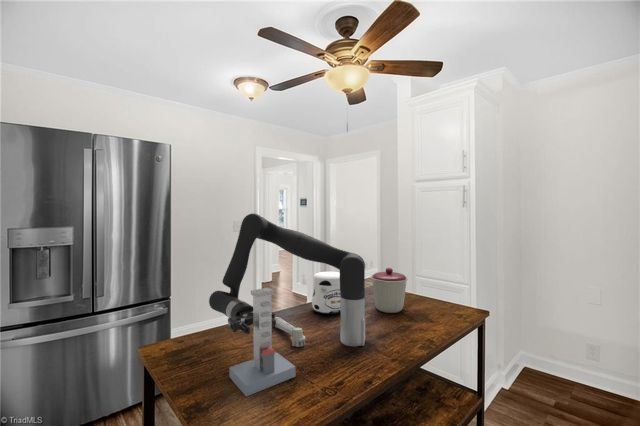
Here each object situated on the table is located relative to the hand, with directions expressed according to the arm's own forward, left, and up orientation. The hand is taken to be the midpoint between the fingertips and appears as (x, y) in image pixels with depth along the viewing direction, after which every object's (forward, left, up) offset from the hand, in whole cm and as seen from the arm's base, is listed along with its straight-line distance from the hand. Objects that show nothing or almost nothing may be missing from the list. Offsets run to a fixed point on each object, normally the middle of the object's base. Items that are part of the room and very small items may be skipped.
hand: (262, 327), depth 92 cm
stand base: (0, 0, -15) cm, 15 cm away
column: (0, 0, -12) cm, 12 cm away
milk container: (-9, -62, -15) cm, 64 cm away
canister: (-38, -70, -15) cm, 81 cm away
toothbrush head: (+2, -30, -16) cm, 34 cm away
